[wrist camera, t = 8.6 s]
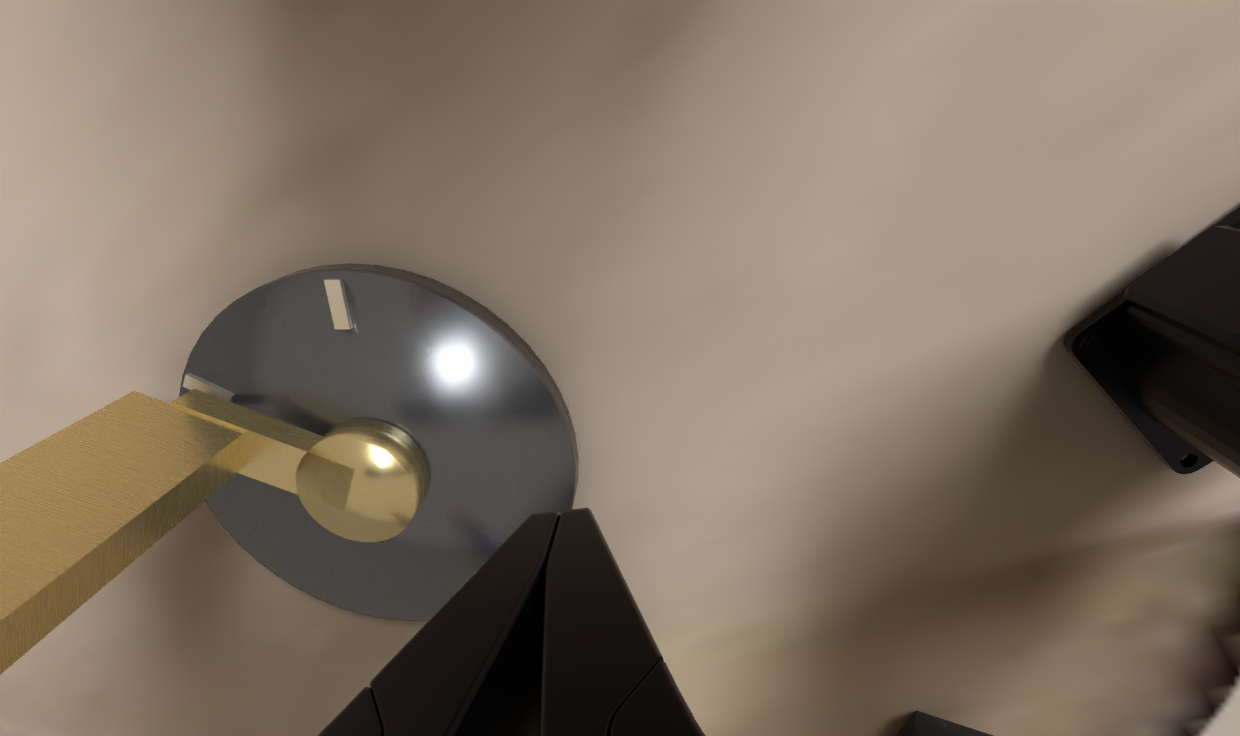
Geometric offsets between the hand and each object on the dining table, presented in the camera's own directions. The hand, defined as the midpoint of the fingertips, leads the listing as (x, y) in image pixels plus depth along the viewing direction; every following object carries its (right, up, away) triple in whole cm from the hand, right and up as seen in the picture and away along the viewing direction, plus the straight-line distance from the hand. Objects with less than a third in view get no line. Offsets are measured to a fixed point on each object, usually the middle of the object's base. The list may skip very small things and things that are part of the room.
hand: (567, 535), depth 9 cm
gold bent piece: (-10, 0, +13) cm, 16 cm away
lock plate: (-8, -1, +14) cm, 16 cm away
